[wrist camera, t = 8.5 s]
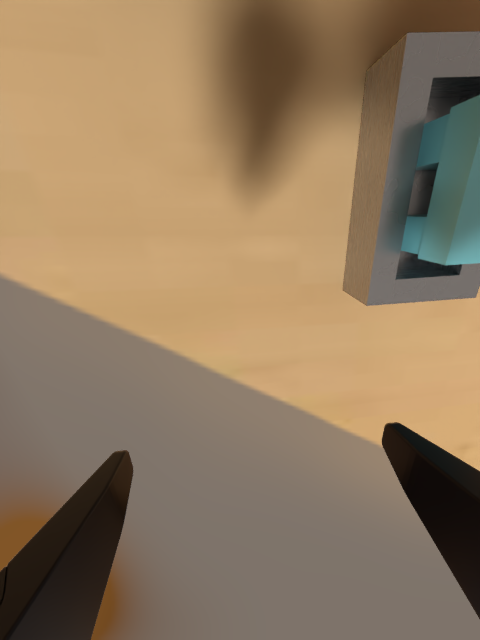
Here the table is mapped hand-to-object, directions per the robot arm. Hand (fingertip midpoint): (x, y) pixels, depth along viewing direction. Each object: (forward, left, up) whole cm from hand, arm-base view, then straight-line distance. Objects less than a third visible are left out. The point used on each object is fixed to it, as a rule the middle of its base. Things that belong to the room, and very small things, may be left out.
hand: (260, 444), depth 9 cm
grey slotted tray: (-8, +12, -12) cm, 19 cm away
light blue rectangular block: (-8, +12, -11) cm, 18 cm away
